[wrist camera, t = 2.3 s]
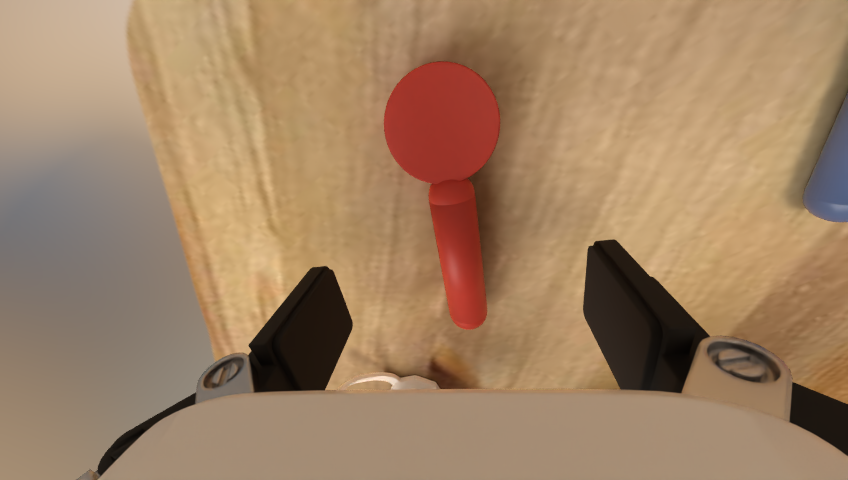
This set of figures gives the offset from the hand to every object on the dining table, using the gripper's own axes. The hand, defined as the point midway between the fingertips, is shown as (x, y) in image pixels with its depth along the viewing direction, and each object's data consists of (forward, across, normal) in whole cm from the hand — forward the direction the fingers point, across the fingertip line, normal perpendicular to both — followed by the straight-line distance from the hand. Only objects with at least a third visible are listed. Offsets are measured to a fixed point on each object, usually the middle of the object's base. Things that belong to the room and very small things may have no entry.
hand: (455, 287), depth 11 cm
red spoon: (+6, 0, -1) cm, 6 cm away
